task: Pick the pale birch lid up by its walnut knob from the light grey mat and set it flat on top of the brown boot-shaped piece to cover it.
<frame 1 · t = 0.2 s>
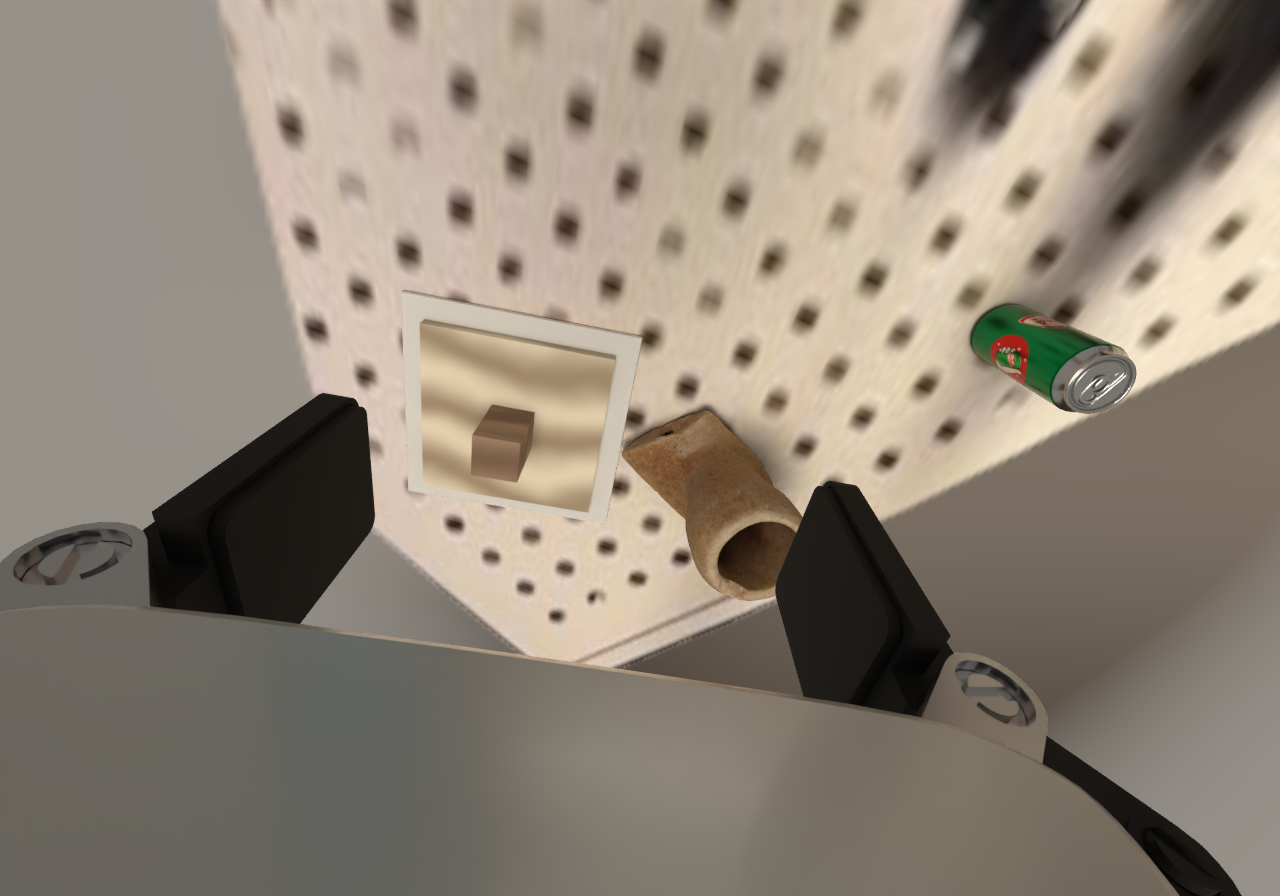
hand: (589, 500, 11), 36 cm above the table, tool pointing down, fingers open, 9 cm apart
grey mat: (516, 418, 51), on the table
birch lid: (515, 421, 50), point 1 cm above the table, touching grey mat
soda can: (997, 331, 46), on the table
brown boot-shaped piece: (712, 461, 53), on the table
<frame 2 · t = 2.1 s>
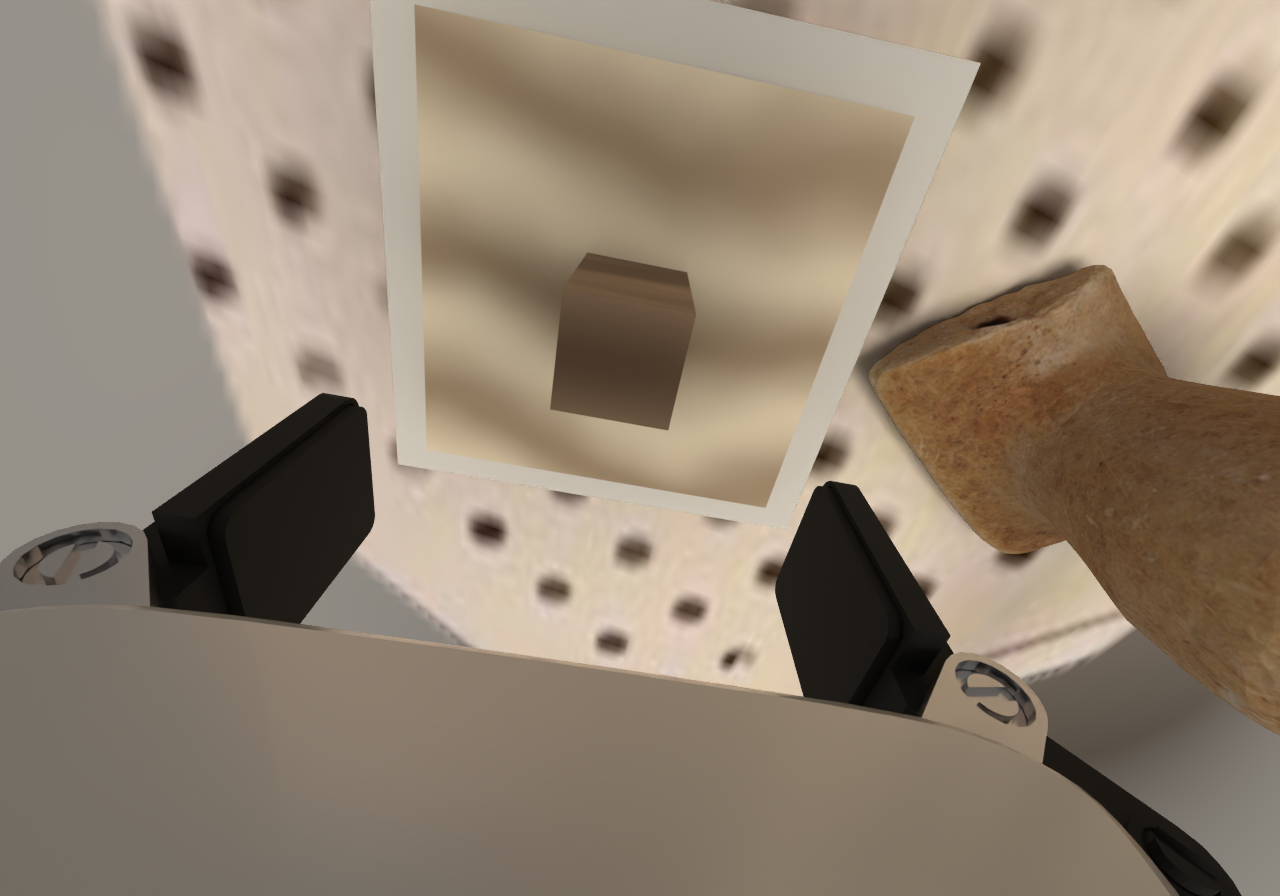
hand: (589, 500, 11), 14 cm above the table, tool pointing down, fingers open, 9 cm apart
grey mat: (631, 300, 23), on the table
birch lid: (630, 304, 23), point 1 cm above the table, touching grey mat
brown boot-shaped piece: (1035, 398, 25), on the table
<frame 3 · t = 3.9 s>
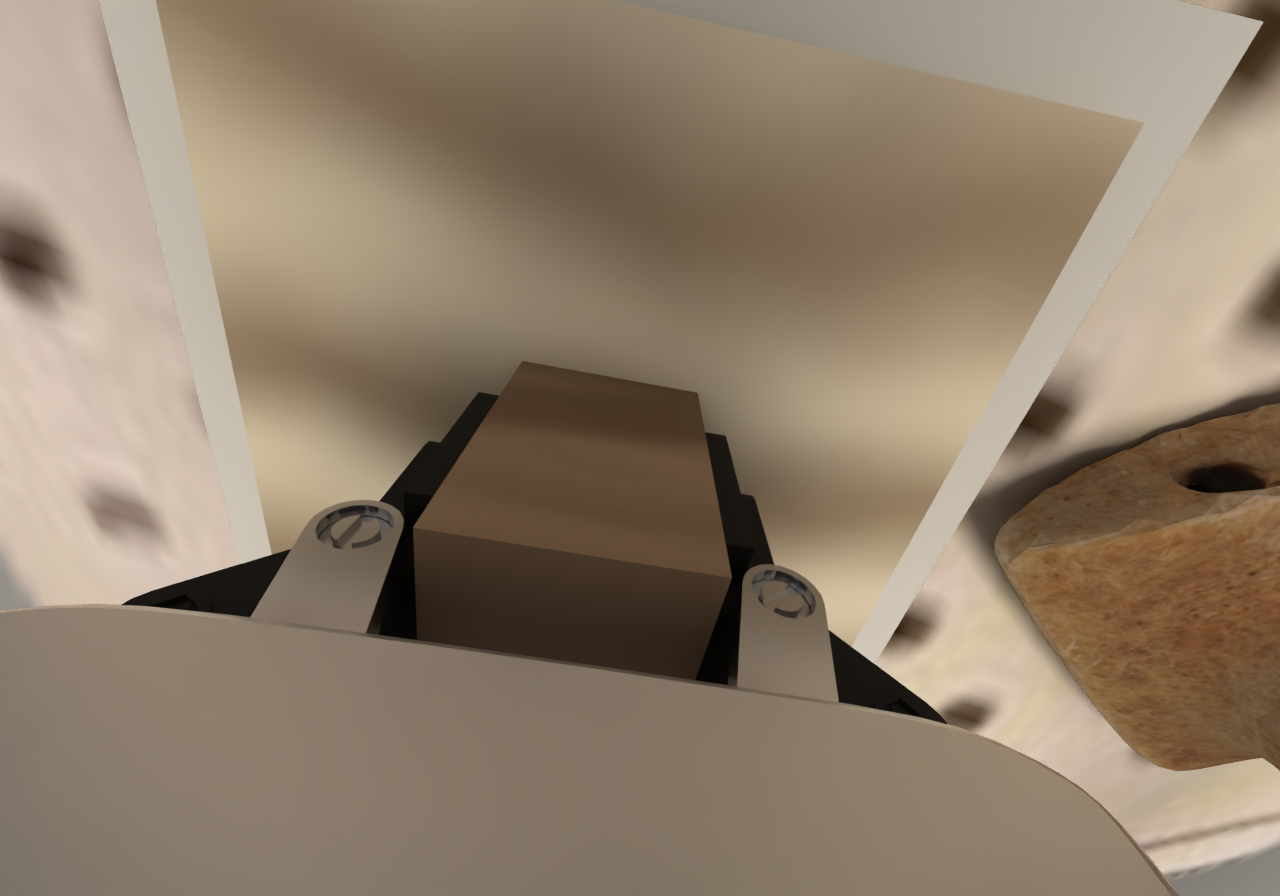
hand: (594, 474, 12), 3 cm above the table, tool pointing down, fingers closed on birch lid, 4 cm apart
grey mat: (604, 420, 14), on the table
birch lid: (602, 430, 14), point 1 cm above the table, touching grey mat, gripper
brown boot-shaped piece: (1230, 555, 16), on the table
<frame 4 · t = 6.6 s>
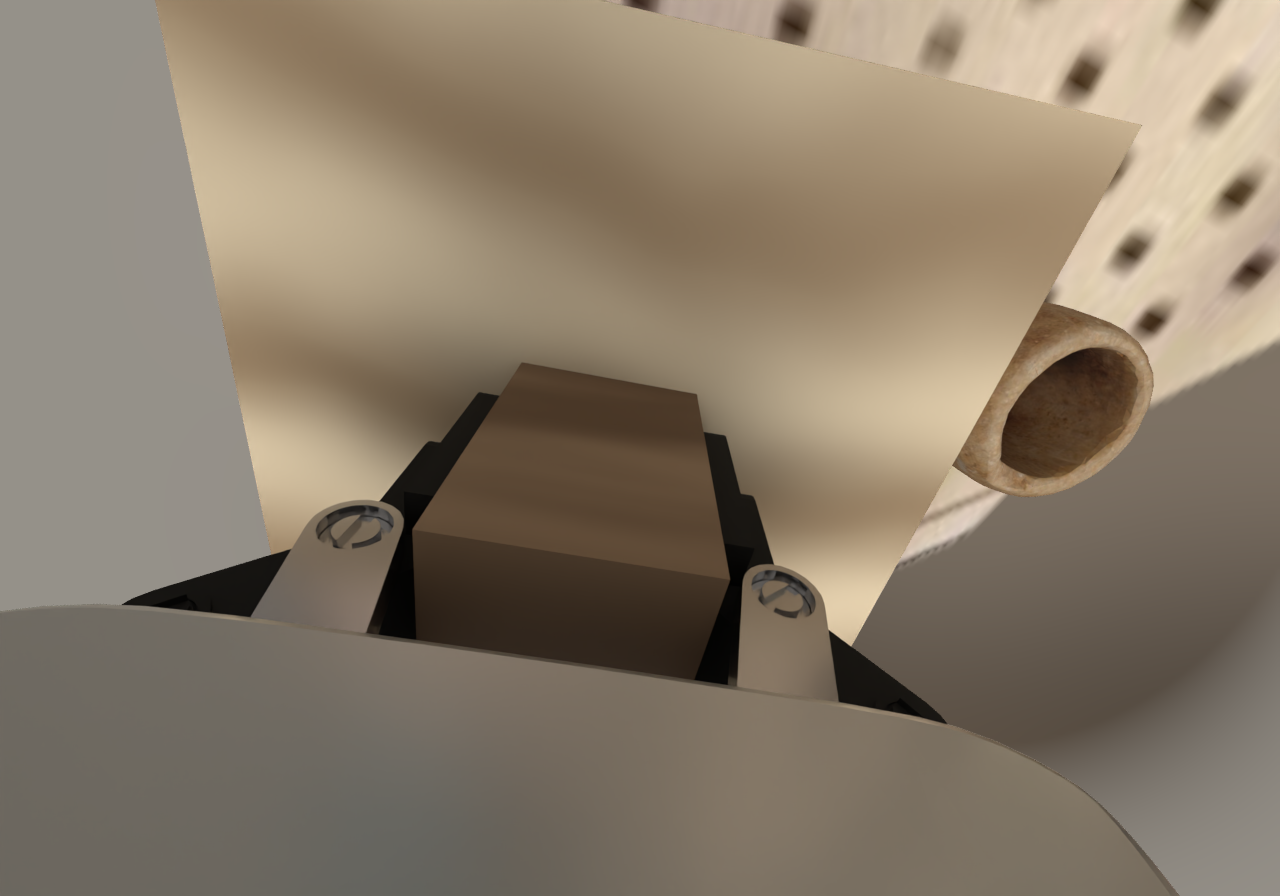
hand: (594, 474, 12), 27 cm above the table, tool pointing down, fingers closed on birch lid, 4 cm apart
birch lid: (602, 431, 14), point 25 cm above the table, touching gripper
brown boot-shaped piece: (898, 329, 38), on the table
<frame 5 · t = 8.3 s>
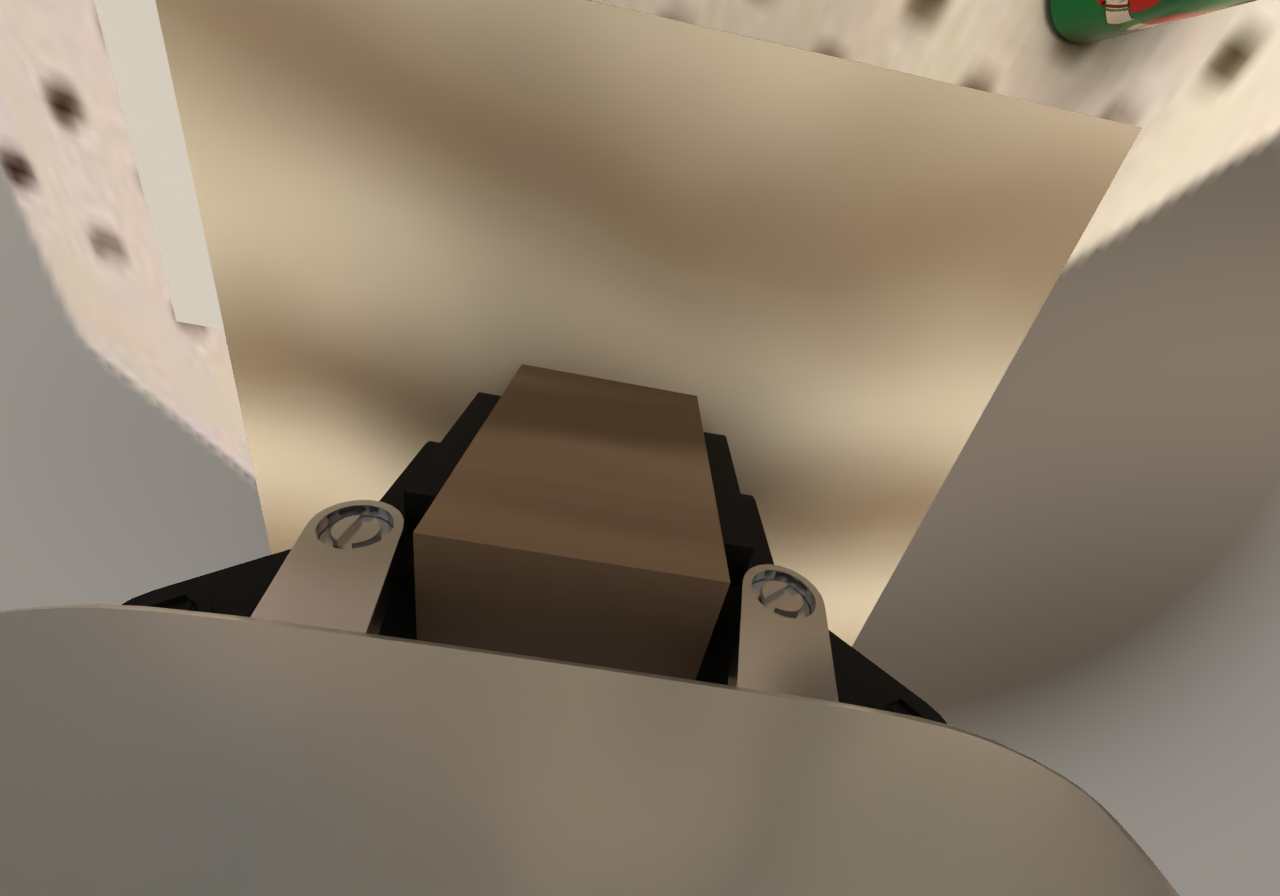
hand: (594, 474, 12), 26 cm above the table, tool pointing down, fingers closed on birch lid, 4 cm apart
grey mat: (318, 185, 32), on the table
birch lid: (602, 432, 14), point 23 cm above the table, touching gripper
when the fingers open (19 cm above the table, at t = 9.6 s): birch lid drops 2 cm, resting on brown boot-shaped piece.
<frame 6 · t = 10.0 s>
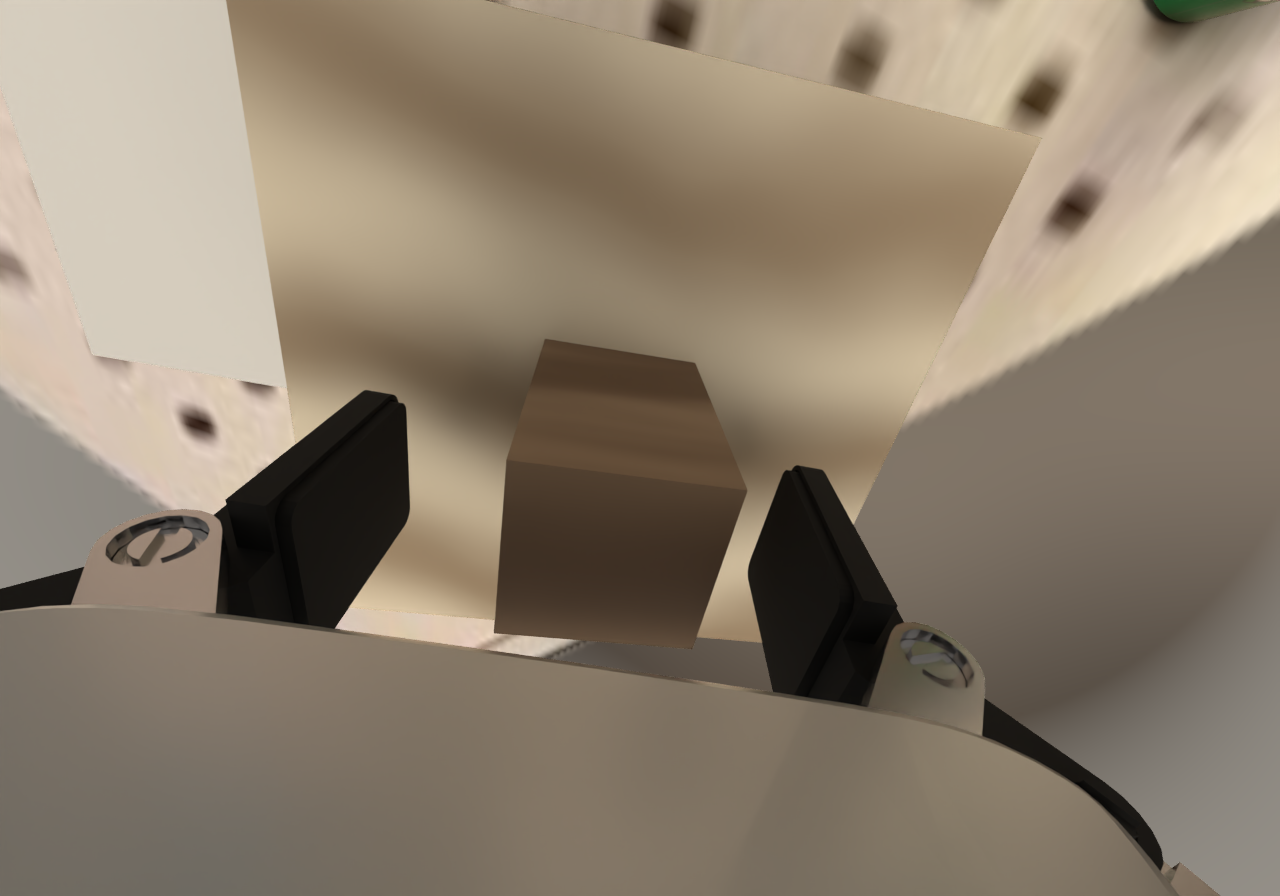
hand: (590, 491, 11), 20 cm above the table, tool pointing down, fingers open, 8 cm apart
grey mat: (251, 195, 27), on the table
birch lid: (609, 400, 16), point 15 cm above the table, touching brown boot-shaped piece
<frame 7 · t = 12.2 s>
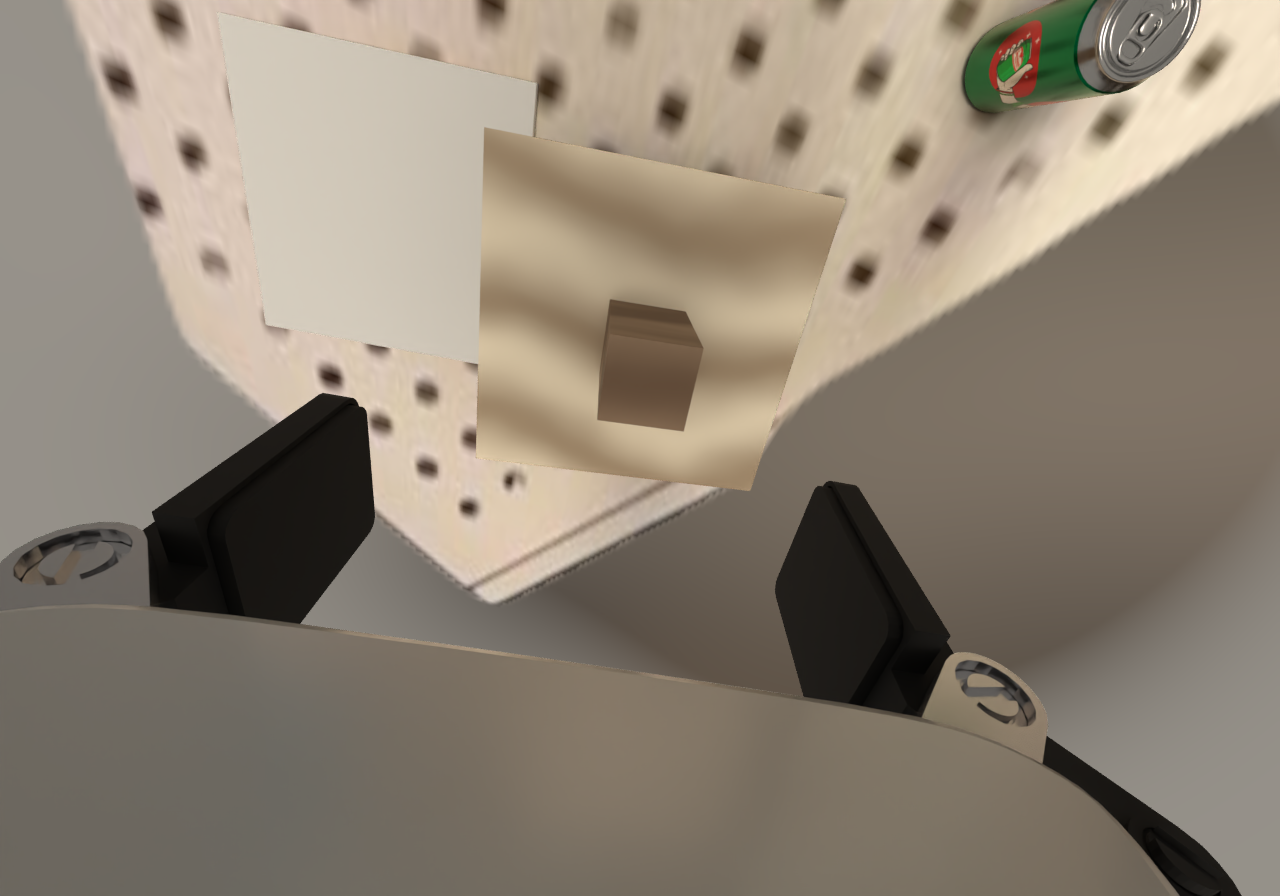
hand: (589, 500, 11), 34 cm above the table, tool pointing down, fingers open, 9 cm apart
grey mat: (390, 216, 40), on the table
birch lid: (640, 335, 29), point 15 cm above the table, touching brown boot-shaped piece
soda can: (998, 69, 35), on the table
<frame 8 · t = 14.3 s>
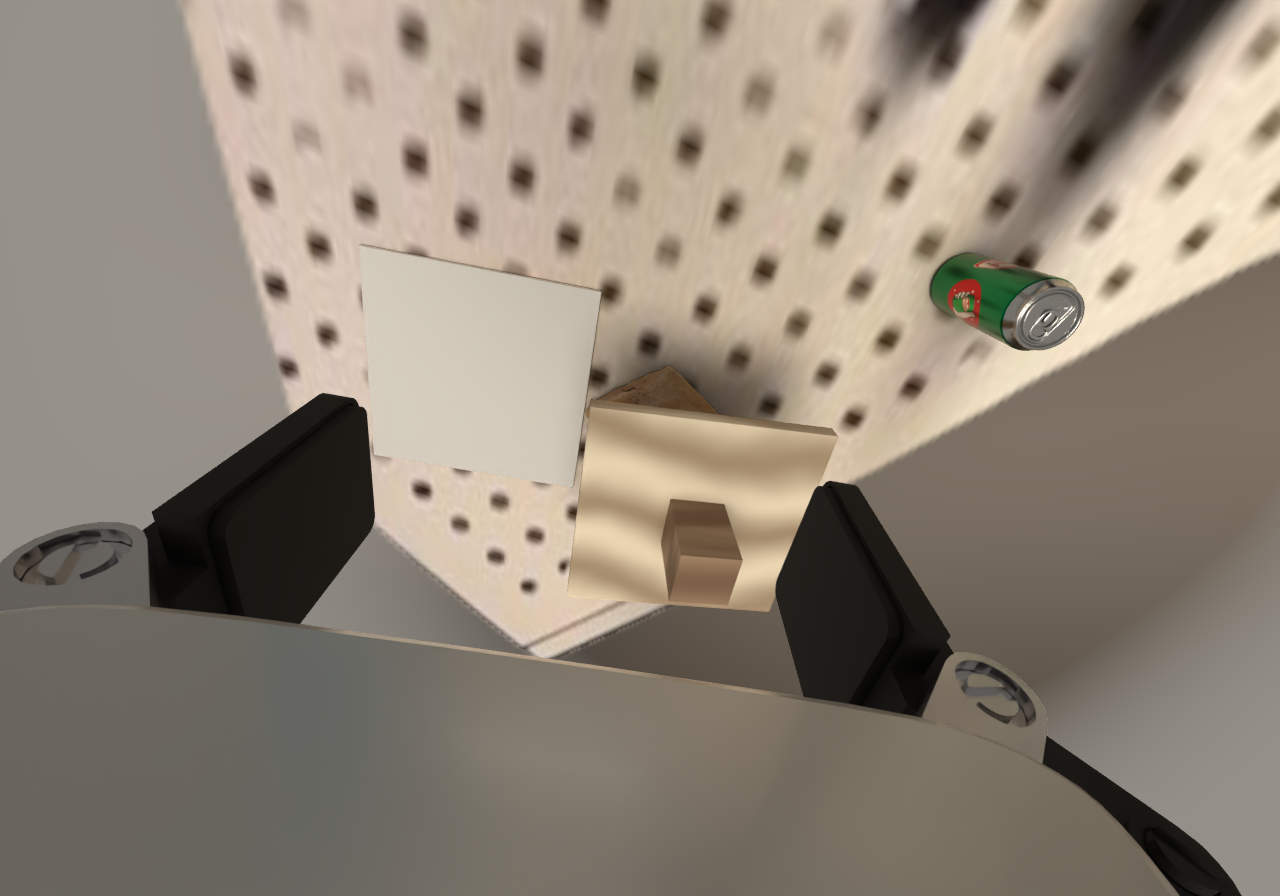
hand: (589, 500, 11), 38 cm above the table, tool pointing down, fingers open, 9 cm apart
grey mat: (479, 378, 51), on the table
birch lid: (689, 513, 40), point 15 cm above the table, touching brown boot-shaped piece
soda can: (957, 282, 46), on the table
brown boot-shaped piece: (677, 421, 53), on the table, touching birch lid
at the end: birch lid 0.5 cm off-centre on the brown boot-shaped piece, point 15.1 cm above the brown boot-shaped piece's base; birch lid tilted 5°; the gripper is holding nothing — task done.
